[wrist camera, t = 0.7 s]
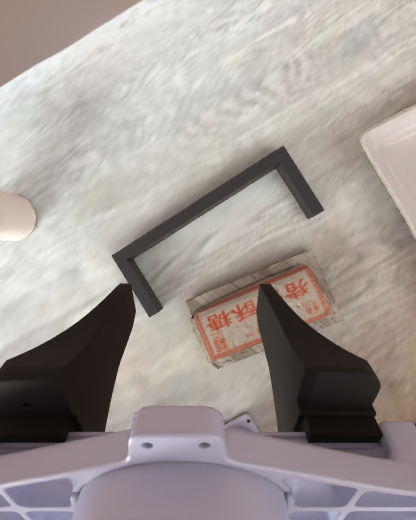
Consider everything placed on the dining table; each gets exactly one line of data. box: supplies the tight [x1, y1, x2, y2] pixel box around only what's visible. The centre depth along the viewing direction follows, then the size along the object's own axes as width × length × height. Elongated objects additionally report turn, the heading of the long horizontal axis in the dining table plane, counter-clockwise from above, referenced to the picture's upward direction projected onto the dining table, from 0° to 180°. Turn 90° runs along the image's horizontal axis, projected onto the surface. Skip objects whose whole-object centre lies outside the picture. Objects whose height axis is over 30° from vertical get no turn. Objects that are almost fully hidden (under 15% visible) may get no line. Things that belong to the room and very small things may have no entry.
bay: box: [112, 146, 324, 317], centre depth 36 cm, size 10×26×2 cm, turn 122°
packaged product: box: [186, 250, 343, 369], centre depth 35 cm, size 18×5×10 cm
